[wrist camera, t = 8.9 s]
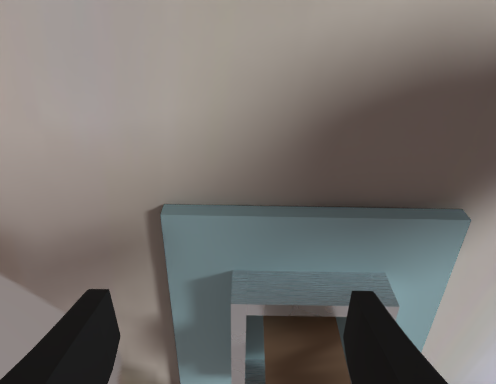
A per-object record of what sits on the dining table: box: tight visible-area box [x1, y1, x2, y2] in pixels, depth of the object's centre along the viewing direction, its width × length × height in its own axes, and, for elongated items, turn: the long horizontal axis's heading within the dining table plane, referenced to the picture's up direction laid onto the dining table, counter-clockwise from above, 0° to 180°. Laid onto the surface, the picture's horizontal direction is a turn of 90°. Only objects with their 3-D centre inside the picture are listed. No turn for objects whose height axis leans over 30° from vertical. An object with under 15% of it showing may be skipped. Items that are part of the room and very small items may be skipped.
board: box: [160, 204, 471, 384], centre depth 25 cm, size 16×16×1 cm
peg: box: [263, 316, 351, 384], centre depth 21 cm, size 4×4×7 cm
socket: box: [231, 270, 400, 384], centre depth 23 cm, size 9×9×2 cm
